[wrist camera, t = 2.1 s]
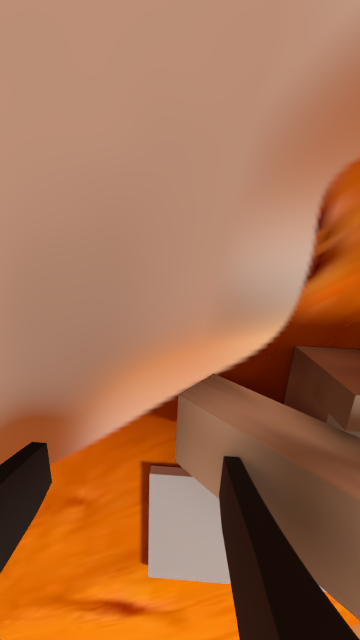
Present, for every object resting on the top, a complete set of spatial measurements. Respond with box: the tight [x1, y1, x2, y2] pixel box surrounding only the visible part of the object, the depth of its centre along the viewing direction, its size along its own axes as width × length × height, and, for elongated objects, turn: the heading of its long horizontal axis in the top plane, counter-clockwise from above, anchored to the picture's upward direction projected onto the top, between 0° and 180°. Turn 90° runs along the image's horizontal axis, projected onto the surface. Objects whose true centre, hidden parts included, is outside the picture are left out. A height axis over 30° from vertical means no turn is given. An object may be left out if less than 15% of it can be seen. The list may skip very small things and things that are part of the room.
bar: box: [175, 374, 360, 620], centre depth 8 cm, size 12×4×3 cm
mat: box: [148, 465, 326, 592], centre depth 16 cm, size 16×10×1 cm, turn 87°
